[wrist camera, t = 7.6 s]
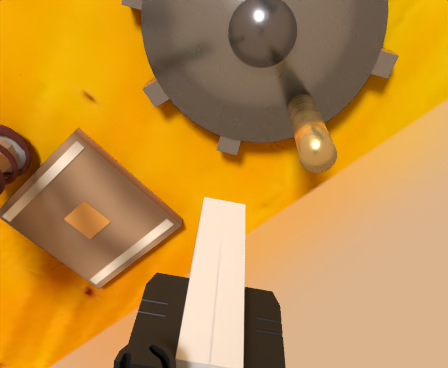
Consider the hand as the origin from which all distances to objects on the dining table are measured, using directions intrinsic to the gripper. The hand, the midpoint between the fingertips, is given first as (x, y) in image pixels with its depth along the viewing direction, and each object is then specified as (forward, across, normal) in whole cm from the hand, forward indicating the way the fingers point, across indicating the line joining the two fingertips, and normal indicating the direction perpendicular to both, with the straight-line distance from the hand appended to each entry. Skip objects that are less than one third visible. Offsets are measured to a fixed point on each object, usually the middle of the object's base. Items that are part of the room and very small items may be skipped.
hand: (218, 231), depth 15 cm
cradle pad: (+18, -11, -14) cm, 25 cm away
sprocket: (+18, +1, +5) cm, 19 cm away
